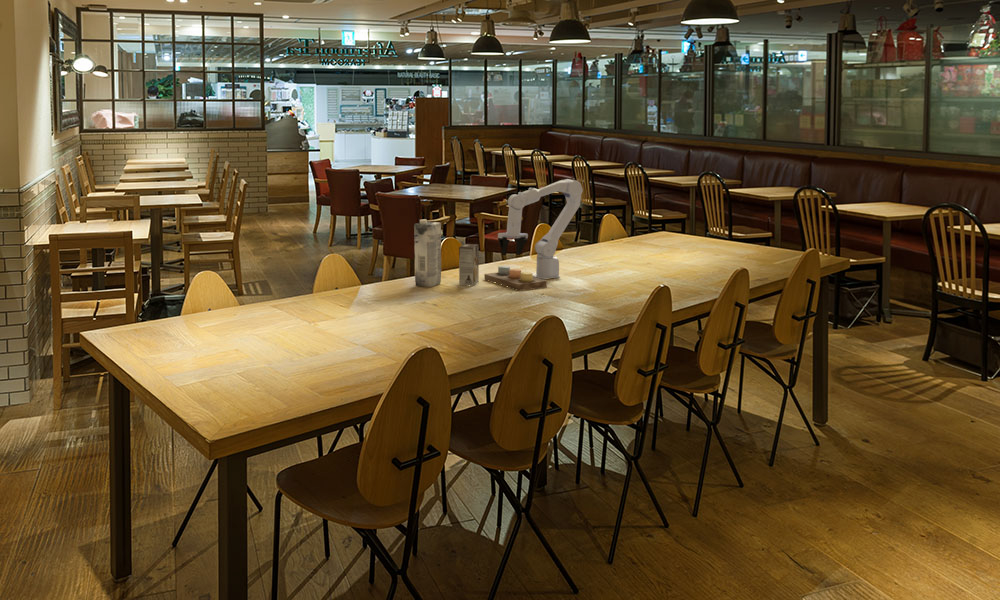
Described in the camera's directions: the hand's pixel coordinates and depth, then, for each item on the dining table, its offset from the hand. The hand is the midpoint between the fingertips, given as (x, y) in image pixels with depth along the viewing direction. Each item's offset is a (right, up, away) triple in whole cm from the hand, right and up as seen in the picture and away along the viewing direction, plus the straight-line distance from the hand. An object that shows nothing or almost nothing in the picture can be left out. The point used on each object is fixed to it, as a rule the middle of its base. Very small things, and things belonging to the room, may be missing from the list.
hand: (511, 255), depth 374 cm
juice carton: (-34, -13, -11) cm, 38 cm away
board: (+2, -12, -6) cm, 14 cm away
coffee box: (-18, -13, -8) cm, 23 cm away
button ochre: (+6, -11, -13) cm, 19 cm away
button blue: (-3, -8, +1) cm, 9 cm away
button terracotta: (+2, -10, -6) cm, 12 cm away
